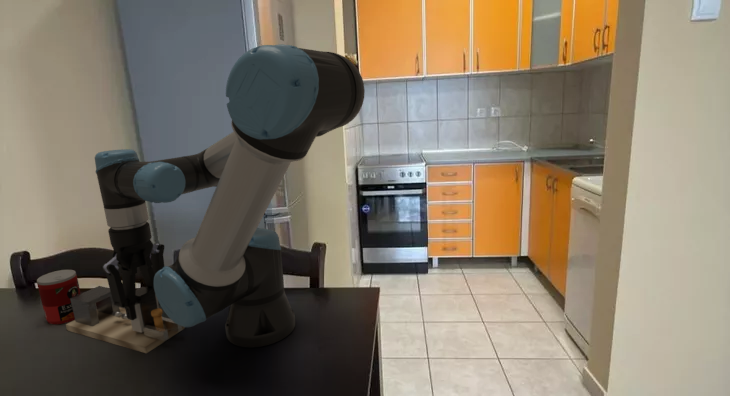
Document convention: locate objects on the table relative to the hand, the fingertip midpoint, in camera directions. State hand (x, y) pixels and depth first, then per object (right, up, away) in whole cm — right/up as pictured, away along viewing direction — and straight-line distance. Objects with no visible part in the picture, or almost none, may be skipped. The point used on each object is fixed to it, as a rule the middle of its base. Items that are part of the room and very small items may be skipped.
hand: (147, 325), depth 90 cm
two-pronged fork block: (-1, -1, +1) cm, 2 cm away
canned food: (-26, -1, +11) cm, 28 cm away
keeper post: (+3, -1, -1) cm, 4 cm away
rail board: (-6, -2, +3) cm, 7 cm away
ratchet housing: (-15, 0, +7) cm, 17 cm away
